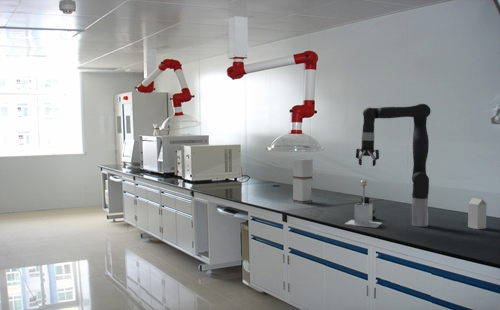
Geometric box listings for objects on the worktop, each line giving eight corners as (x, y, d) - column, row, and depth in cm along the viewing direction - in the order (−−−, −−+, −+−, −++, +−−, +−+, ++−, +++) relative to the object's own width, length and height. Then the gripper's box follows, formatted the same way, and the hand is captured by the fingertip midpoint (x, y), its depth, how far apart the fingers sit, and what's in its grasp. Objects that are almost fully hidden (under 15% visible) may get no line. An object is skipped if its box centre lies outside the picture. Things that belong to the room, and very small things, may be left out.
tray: (381, 223, 306) (381, 222, 306) (376, 227, 293) (376, 226, 293) (350, 220, 315) (350, 219, 315) (344, 224, 303) (344, 223, 303)
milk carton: (477, 229, 287) (478, 198, 286) (467, 227, 294) (468, 196, 293) (486, 228, 290) (487, 197, 289) (476, 226, 297) (477, 195, 296)
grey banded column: (312, 202, 389) (312, 159, 387) (302, 203, 383) (302, 159, 381) (303, 200, 398) (303, 158, 396) (293, 201, 392) (293, 159, 390)
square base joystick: (372, 222, 306) (372, 203, 305) (368, 225, 298) (368, 206, 297) (358, 221, 310) (358, 202, 310) (354, 223, 302) (354, 204, 302)
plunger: (370, 206, 305) (371, 180, 304) (367, 208, 299) (368, 181, 298) (359, 205, 309) (359, 179, 307) (356, 207, 302) (356, 180, 301)
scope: (376, 198, 320) (363, 199, 317) (376, 219, 321) (362, 219, 318) (370, 196, 328) (357, 197, 325) (370, 216, 329) (357, 217, 326)
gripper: (381, 140, 300) (380, 166, 302) (359, 139, 308) (358, 164, 309) (377, 140, 294) (376, 166, 295) (354, 139, 302) (353, 165, 303)
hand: (367, 165), depth 302 cm, fingers open, 8 cm apart
